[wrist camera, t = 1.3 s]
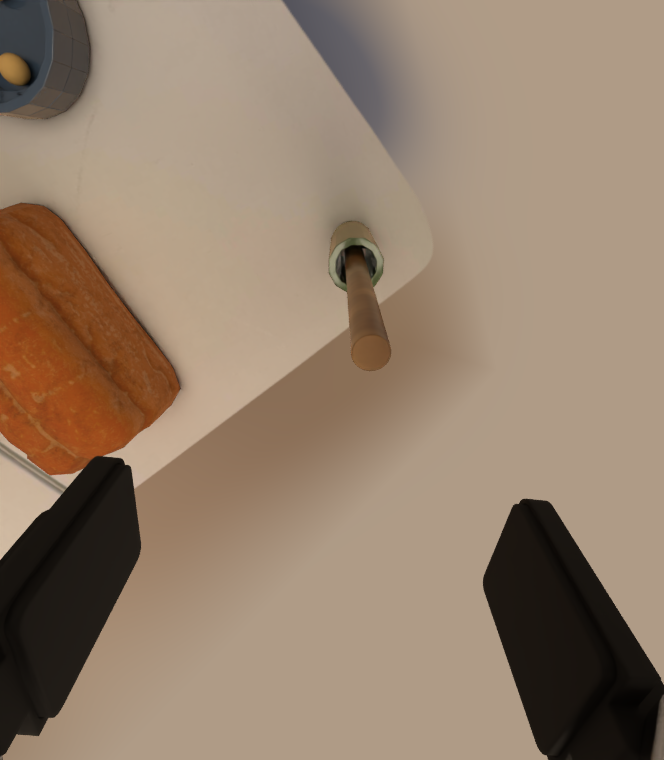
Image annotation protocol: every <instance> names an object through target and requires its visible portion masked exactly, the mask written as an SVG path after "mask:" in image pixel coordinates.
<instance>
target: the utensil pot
mask: <svg viewBox="0 0 664 760" xmlns="http://www.w3.org/2000/svg"><path fill="white" fill-rule="evenodd" d="M351 245H363V246H364V247H366V256H364V257H365V260H366V264H367V267H368V271H369V274H370V277H371V281H372V284H373V287H374V286H375V285H376V284H377V282H378V281H379V279H380V277H381V276H382V274H383V263H384V259H383V256H382V254H381V252H380V250H379V248H378V246H377V244H376V242H375V240H374V238H373V236H372V234H371V232H370V230H369V228H368V227H366V226H365V225H364V224H362V223H360V222H357V221H347V222H345V223H343V224H341V225H340V226H338V227H337V228H336V230H335V231H334V233H333V235H332V237H331V243H330V253H329V274H330V276H331V278H332V280H333V282H334V283H335V285H336V286H337V287H339V288H341V289H342V290H344V291H346V292H347V283H346V268H345V256H341V251H342V250H344V249H345V248H347V247H349V246H351Z"/></svg>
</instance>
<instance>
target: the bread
mask: <svg viewBox="0 0 664 760" xmlns="http://www.w3.org/2000/svg"><path fill="white" fill-rule="evenodd" d="M179 390H180V386H179V384H178V381H177V378H176V375H175V373H174V370H173V368H172V366H171V365H170V363H169V362H168V361H167V359H166V358H165V357H164V355H163V354H162V353H161V351H160V350H159V349H158V347H157V346H156V344H155V343H154V342H153V341H152V340H151V338H150V337H149V336H148V335H147V333H146V332H145V331H144V330H143V329H142V327H141V326H140V325H139V324H138V322H137V321H136V320H135V319H134V317H133V316H132V315H131V314H130V312H129V311H128V310H127V308H126V307H125V306H124V304H123V303H122V302H121V300H120V299H119V298H118V296H117V295H116V294H115V292H114V291H113V290H112V288H111V287H110V286H109V284H108V283H107V281H106V280H105V279H104V277H103V276H102V274H101V273H100V271H99V270H98V268H97V267H96V265H95V264H94V263H93V261H92V260H91V258H90V257H89V255H88V254H87V252H86V251H85V250H84V249H83V247H82V246H81V245H80V243H79V242H78V241H77V239H76V238H75V237H74V236H73V234H72V233H71V232H70V230H69V229H68V228H67V226H66V225H65V224H64V223H63V221H62V220H61V219H60V218H59V217H57V216H56V215H55V214H53V213H52V212H51V211H50V210H48V209H47V208H46V207H44V206H40V205H33V204H26V203H19V204H16V205H13V206H10V207H7V208H4V209H1V210H0V432H1V433H2V434H3V436H4V437H5V438H6V439H7V440H8V441H9V442H10V443H11V444H13V445H14V446H16V447H17V448H19V449H20V450H21V451H23V452H24V453H26V454H27V459H29V460H30V461H31V462H33V463H34V464H35V465H37V466H38V467H39V468H41V469H42V470H43V471H45V472H46V473H47V474H49V475H60V474H72V473H75V472H77V471H79V470H81V469H83V468H85V467H86V465H87V464H88V463H89V462H90V461H91V460H92V459H93V458H94V457H96V456H104V455H106V454H109V453H112V452H114V451H116V450H119V449H121V448H123V447H125V446H126V445H127V444H128V443H129V442H130V441H131V440H132V439H133V438H134V437H135V436H136V435H137V434H138V433H139V432H141V431H142V430H144V429H145V428H147V427H149V426H150V425H151V424H152V423H153V422H154V421H155V420H157V419H158V418H159V417H160V416H161V415H162V414H163V413H164V411H165V410H166V409H167V408H168V407H169V406H171V404H172V403H173V401H174V399H175V397H176V396H177V394H178V392H179Z"/></svg>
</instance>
